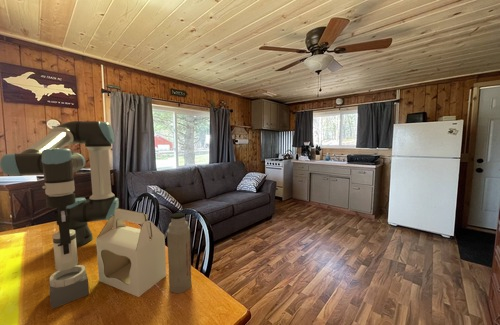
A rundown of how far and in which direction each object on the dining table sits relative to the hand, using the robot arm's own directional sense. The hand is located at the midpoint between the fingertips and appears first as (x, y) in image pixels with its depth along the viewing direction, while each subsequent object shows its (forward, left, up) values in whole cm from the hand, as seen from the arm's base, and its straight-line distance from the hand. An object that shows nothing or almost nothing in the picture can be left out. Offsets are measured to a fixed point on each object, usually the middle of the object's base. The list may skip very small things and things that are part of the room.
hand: (66, 257), depth 75 cm
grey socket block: (0, 0, -14) cm, 14 cm away
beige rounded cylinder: (0, 0, -3) cm, 3 cm away
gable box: (+6, +19, -14) cm, 24 cm away
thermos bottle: (+23, +31, -14) cm, 41 cm away
